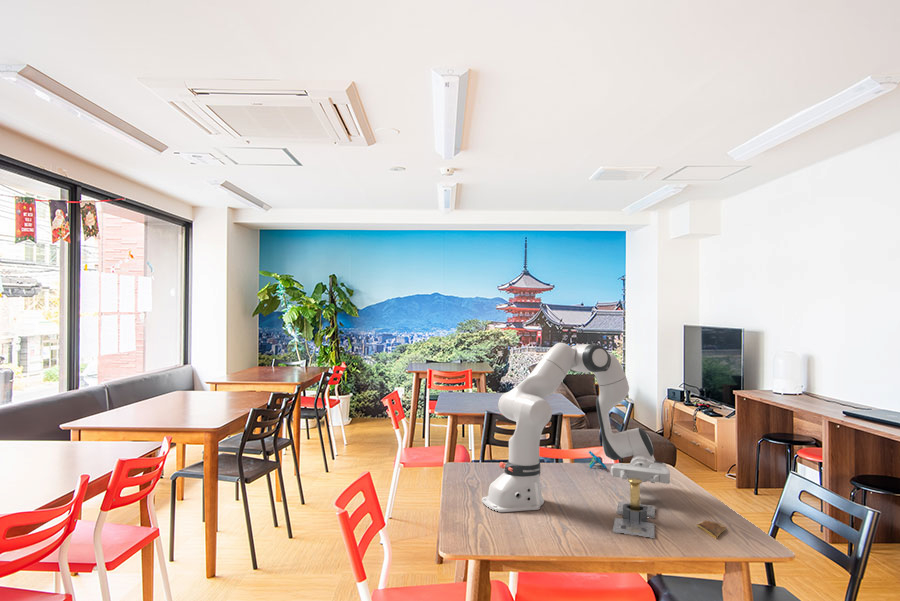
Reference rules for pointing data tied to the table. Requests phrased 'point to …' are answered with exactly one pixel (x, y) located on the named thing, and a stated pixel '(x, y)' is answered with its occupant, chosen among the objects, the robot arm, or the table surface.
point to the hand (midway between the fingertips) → (638, 478)
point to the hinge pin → (634, 493)
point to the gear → (595, 460)
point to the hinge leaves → (635, 520)
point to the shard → (712, 528)
